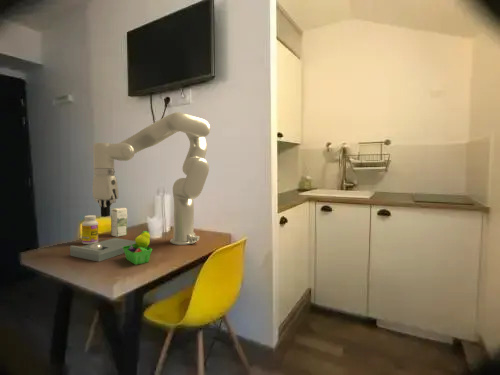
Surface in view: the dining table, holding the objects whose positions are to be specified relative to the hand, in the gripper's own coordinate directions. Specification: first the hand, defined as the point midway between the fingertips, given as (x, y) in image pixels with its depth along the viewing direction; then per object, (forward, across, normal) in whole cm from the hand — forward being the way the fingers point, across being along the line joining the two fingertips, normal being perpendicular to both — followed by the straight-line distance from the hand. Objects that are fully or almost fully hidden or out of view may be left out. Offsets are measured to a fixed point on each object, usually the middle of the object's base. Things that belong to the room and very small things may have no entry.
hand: (105, 216), depth 120 cm
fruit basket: (+16, -20, +2) cm, 25 cm away
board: (+15, 0, -1) cm, 16 cm away
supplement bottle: (+16, +18, -7) cm, 25 cm away
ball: (+13, +1, +4) cm, 14 cm away
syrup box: (+16, +18, -24) cm, 34 cm away
